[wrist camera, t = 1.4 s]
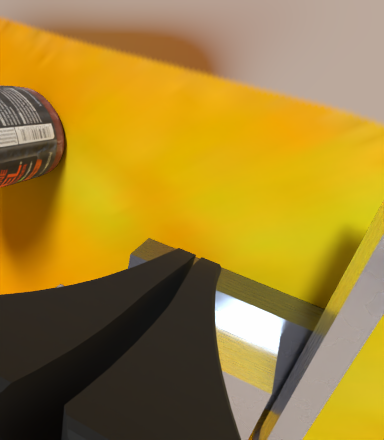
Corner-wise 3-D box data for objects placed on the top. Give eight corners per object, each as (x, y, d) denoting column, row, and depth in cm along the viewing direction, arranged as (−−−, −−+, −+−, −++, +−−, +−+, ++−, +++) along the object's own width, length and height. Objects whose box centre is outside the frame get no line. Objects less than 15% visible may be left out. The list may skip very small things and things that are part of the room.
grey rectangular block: (280, 336, 18) (271, 394, 15) (255, 388, 20) (242, 450, 17) (169, 288, 20) (138, 330, 16) (156, 340, 22) (126, 387, 18)
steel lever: (410, 195, 16) (445, 232, 11) (281, 419, 23) (274, 490, 19) (367, 182, 16) (386, 214, 12) (255, 406, 24) (242, 473, 20)
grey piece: (339, 315, 19) (343, 344, 17) (297, 390, 22) (294, 423, 20) (148, 238, 22) (130, 253, 20) (134, 314, 25) (116, 334, 23)
